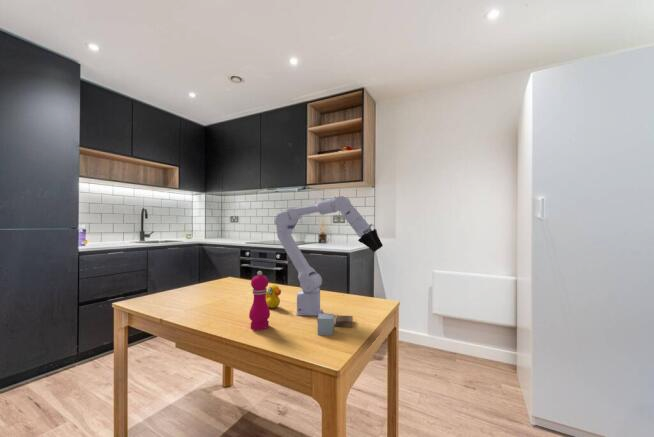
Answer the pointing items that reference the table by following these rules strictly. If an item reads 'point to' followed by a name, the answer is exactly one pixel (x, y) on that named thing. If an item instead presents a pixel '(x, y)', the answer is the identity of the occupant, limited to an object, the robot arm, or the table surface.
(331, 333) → the gray brick
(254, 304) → the pepper mill
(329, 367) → the table surface
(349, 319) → the base brick
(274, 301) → the duckling
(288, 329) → the table surface
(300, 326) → the table surface
